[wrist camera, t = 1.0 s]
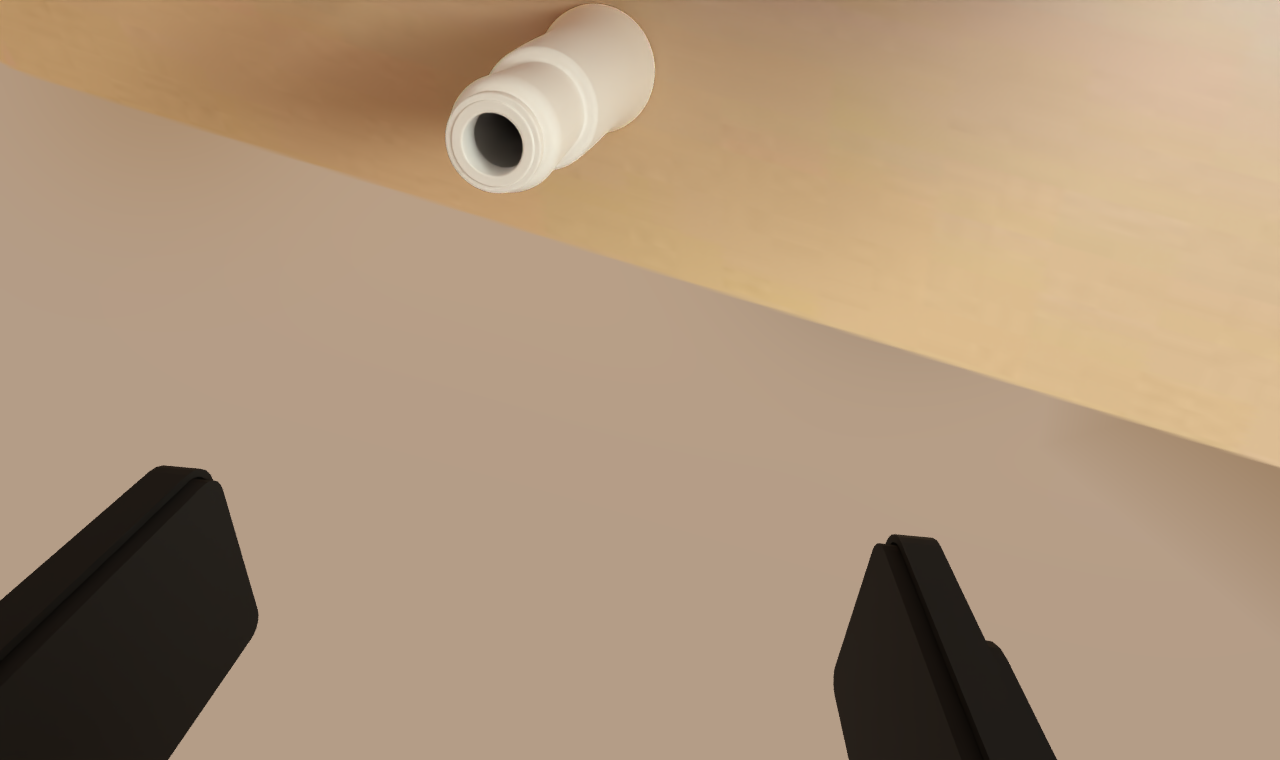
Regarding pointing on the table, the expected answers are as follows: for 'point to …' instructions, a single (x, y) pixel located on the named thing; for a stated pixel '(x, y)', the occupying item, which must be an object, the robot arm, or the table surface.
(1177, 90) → the table surface
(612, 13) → the cosmetic bottle
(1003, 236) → the table surface
